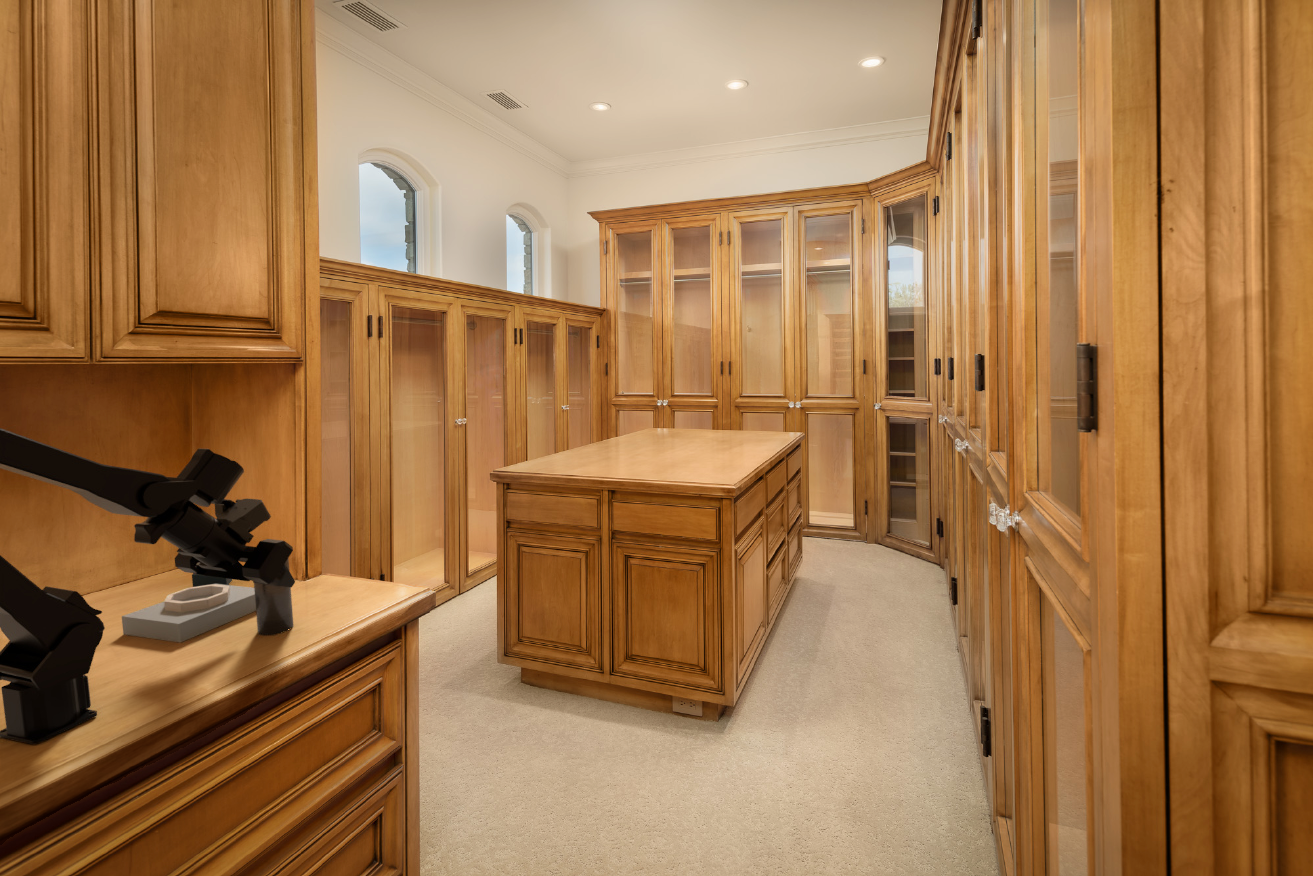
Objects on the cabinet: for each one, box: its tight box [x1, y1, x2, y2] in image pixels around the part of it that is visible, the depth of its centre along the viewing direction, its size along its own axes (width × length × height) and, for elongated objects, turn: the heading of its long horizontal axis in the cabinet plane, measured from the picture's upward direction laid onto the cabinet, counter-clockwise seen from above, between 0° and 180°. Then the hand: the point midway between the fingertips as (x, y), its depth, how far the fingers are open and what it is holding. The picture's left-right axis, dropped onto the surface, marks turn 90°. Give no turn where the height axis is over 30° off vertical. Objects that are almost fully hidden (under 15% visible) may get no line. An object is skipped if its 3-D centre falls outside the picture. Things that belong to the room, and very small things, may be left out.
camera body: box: [121, 584, 256, 643], centre depth 108 cm, size 16×12×4 cm
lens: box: [253, 558, 294, 636], centre depth 103 cm, size 5×5×13 cm
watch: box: [191, 573, 233, 587], centre depth 124 cm, size 6×8×11 cm
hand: (271, 581), depth 103 cm, fingers open, 9 cm apart
